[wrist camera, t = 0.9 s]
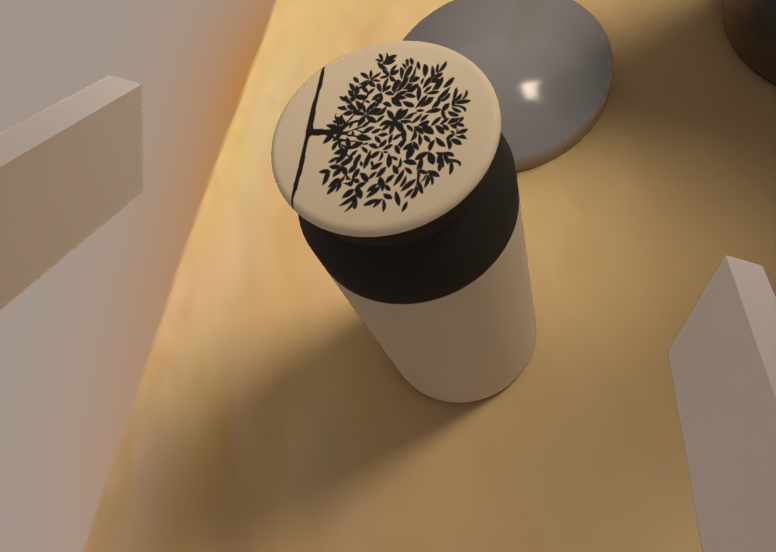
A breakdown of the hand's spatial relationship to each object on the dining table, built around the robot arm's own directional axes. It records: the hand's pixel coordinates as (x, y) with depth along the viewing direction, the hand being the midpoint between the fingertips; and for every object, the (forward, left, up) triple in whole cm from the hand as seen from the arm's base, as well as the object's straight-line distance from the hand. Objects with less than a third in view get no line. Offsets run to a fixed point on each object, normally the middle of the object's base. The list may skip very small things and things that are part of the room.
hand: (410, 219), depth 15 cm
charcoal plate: (-11, -20, -22) cm, 31 cm away
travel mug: (-1, -6, -22) cm, 23 cm away
